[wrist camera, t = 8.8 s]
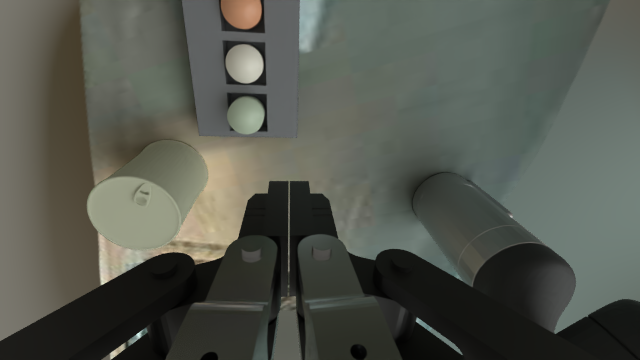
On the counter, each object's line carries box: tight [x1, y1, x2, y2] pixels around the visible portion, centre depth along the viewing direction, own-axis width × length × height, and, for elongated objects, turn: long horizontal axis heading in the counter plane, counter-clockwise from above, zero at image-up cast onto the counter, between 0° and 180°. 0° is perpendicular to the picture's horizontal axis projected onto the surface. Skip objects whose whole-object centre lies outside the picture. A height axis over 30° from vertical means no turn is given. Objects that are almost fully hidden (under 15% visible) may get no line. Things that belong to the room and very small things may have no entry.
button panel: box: [182, 0, 300, 138], centre depth 34 cm, size 12×17×3 cm
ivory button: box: [226, 44, 265, 83], centre depth 34 cm, size 4×4×3 cm
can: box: [87, 140, 208, 250], centre depth 36 cm, size 9×9×12 cm
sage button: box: [227, 95, 265, 134], centre depth 35 cm, size 4×4×3 cm
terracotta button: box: [221, 0, 263, 30], centre depth 31 cm, size 4×4×3 cm
